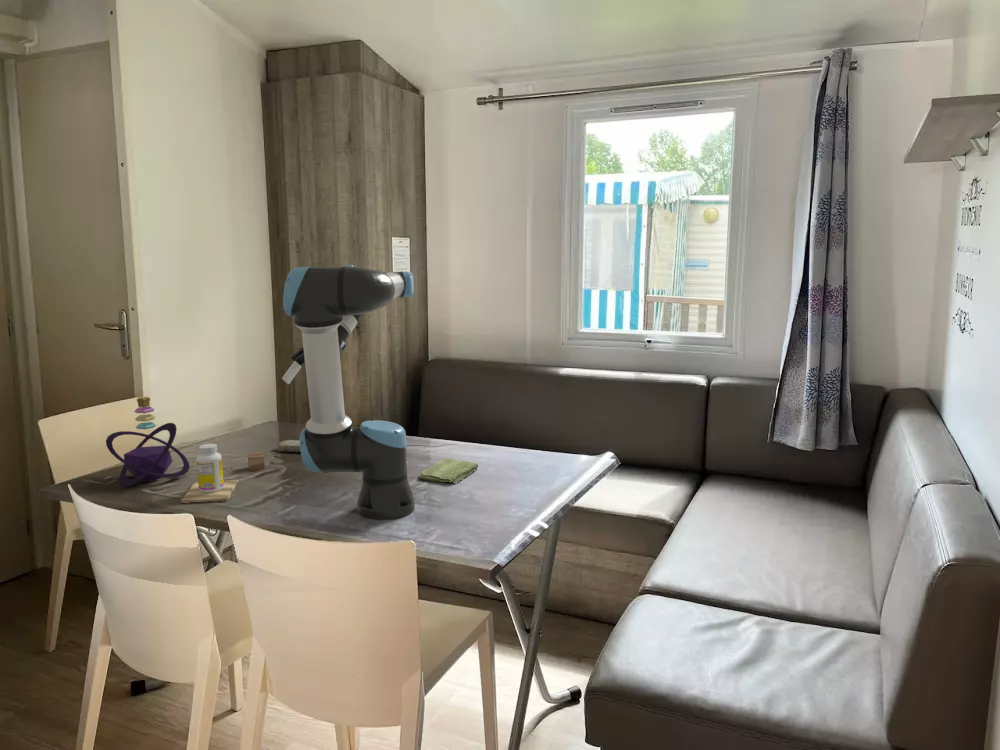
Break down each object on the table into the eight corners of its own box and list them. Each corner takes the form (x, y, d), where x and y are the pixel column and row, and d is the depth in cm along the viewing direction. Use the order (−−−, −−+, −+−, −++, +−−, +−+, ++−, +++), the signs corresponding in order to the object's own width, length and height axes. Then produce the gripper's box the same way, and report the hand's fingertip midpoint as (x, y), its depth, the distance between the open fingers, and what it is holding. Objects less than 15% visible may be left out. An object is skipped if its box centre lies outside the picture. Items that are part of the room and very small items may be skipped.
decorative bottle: (100, 478, 222) (92, 397, 218) (171, 463, 237) (164, 387, 233) (127, 495, 207) (118, 408, 202) (200, 478, 221) (194, 397, 217)
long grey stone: (284, 449, 258) (273, 459, 249) (282, 435, 257) (271, 444, 248) (381, 446, 255) (374, 456, 245) (380, 431, 254) (373, 441, 244)
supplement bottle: (216, 484, 213) (213, 441, 211) (228, 488, 209) (225, 445, 207) (194, 490, 208) (190, 446, 206) (206, 495, 204) (202, 450, 201)
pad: (227, 501, 202) (227, 497, 202) (181, 503, 200) (180, 500, 200) (238, 482, 217) (238, 479, 217) (195, 485, 215) (195, 481, 215)
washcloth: (415, 481, 219) (415, 470, 219) (445, 465, 235) (445, 455, 235) (454, 487, 214) (453, 476, 213) (481, 470, 229) (481, 460, 229)
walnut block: (264, 469, 230) (263, 456, 229) (249, 471, 228) (248, 457, 228) (263, 466, 234) (262, 452, 234) (248, 467, 233) (247, 454, 232)
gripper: (373, 338, 215) (333, 397, 206) (322, 332, 231) (282, 386, 222) (357, 322, 210) (316, 381, 201) (306, 317, 226) (266, 371, 217)
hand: (298, 384), depth 212 cm, fingers open, 13 cm apart
